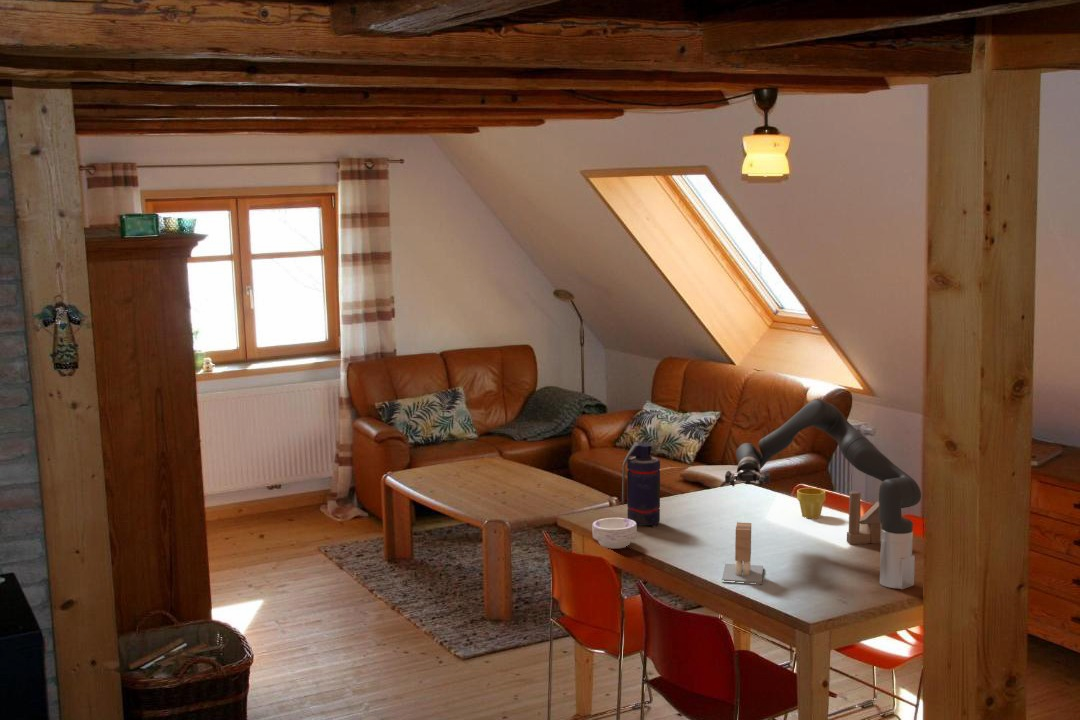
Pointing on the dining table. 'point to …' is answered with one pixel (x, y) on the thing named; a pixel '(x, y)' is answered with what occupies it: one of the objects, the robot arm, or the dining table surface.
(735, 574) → the peg stand
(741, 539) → the brown rectangular block
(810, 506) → the plant pot
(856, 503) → the wooden block structure
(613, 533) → the white bowl
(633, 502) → the grenade
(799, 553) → the dining table surface
